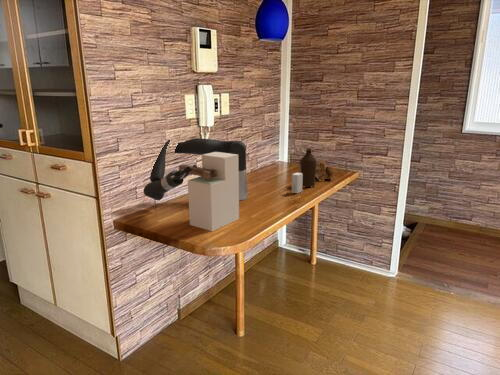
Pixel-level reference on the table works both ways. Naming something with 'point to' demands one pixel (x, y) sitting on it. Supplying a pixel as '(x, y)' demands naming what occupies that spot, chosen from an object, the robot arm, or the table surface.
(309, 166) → the olive oil
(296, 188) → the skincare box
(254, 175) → the table surface
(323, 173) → the stuffed squirrel
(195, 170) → the walnut T-handle
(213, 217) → the stepped stand
